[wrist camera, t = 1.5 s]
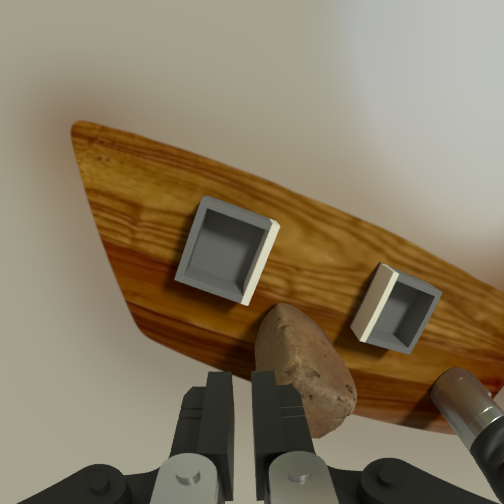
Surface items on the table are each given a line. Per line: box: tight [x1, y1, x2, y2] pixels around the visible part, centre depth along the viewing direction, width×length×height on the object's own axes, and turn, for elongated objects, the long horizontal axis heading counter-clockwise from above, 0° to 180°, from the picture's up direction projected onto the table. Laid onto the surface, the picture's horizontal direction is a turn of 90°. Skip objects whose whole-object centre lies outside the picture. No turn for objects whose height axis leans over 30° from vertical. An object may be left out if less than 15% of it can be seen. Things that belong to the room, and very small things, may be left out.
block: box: [255, 303, 357, 438], centre depth 38 cm, size 11×8×20 cm
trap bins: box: [174, 195, 442, 355], centre depth 43 cm, size 37×11×5 cm, turn 69°
